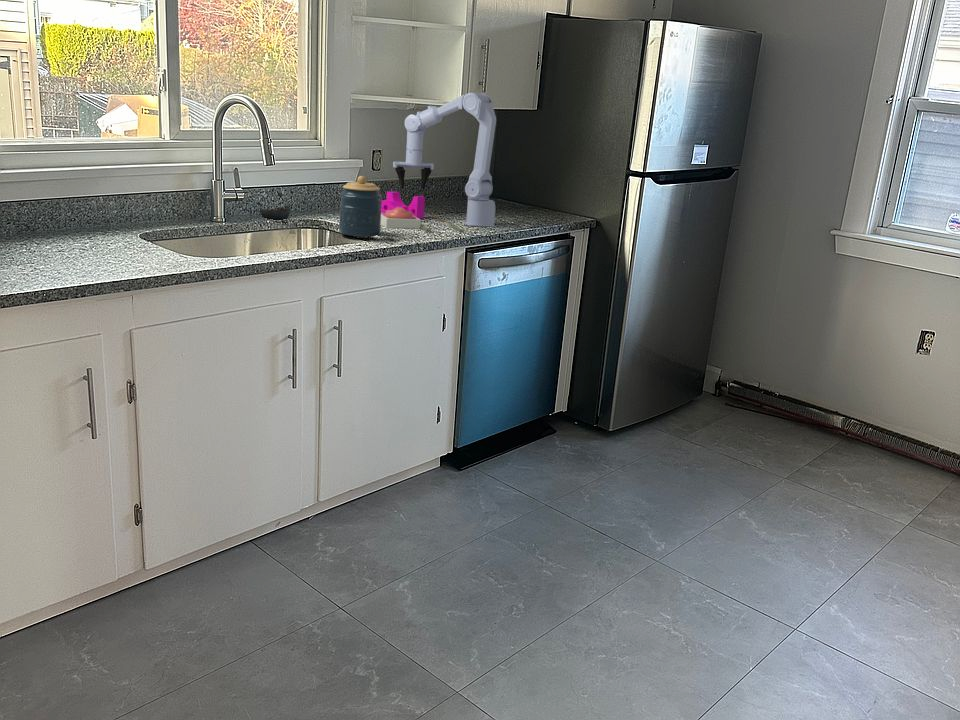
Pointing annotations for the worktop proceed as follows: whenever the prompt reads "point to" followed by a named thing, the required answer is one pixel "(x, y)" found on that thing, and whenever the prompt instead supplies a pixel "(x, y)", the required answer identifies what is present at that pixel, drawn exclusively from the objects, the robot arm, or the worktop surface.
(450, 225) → the game lane
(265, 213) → the soup bowl
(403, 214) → the dome
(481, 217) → the robot arm
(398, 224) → the white square frame
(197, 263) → the worktop surface
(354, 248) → the worktop surface
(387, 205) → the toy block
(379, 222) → the canister
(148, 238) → the worktop surface
